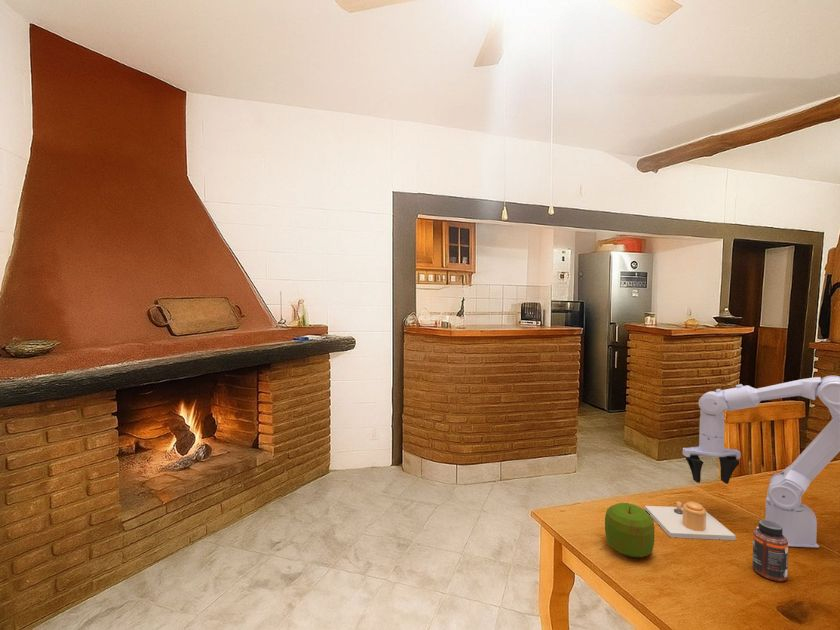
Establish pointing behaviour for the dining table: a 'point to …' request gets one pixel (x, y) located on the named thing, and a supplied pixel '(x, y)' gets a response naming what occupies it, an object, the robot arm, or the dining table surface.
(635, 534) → the apple
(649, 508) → the junction plate
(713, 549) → the dining table surface
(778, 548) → the supplement bottle
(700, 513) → the acorn nut
